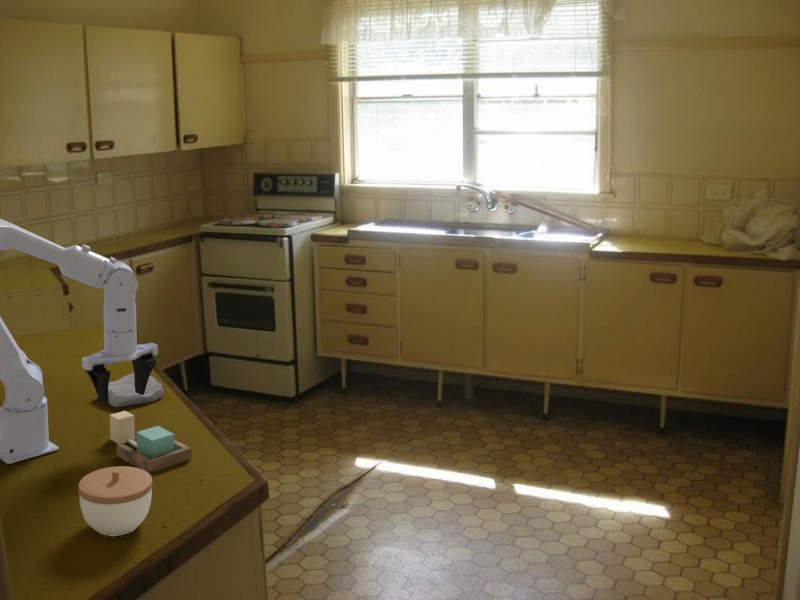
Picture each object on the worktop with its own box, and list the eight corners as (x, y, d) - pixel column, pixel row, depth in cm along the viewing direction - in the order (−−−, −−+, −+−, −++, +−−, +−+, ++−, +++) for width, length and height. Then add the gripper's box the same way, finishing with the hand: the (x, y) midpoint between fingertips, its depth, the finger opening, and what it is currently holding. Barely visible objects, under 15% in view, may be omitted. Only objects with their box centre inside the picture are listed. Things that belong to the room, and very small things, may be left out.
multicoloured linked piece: (174, 459, 158) (174, 434, 157) (152, 466, 154) (152, 440, 153) (128, 434, 167) (128, 409, 166) (107, 440, 164) (106, 415, 163)
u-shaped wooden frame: (191, 459, 158) (191, 448, 158) (147, 473, 152) (147, 462, 151) (159, 442, 164) (159, 431, 164) (116, 455, 158) (116, 444, 157)
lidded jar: (127, 503, 141) (125, 450, 139) (167, 527, 135) (166, 471, 132) (66, 526, 133) (63, 470, 131) (105, 553, 126) (103, 494, 124)
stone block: (167, 405, 188) (140, 384, 193) (169, 386, 186) (142, 366, 191) (119, 421, 179) (92, 399, 184) (121, 401, 177) (94, 379, 182)
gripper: (95, 340, 151) (97, 413, 155) (166, 326, 162) (167, 394, 165) (74, 331, 156) (77, 402, 159) (145, 318, 166) (146, 384, 170)
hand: (122, 398), depth 163 cm, fingers open, 7 cm apart
